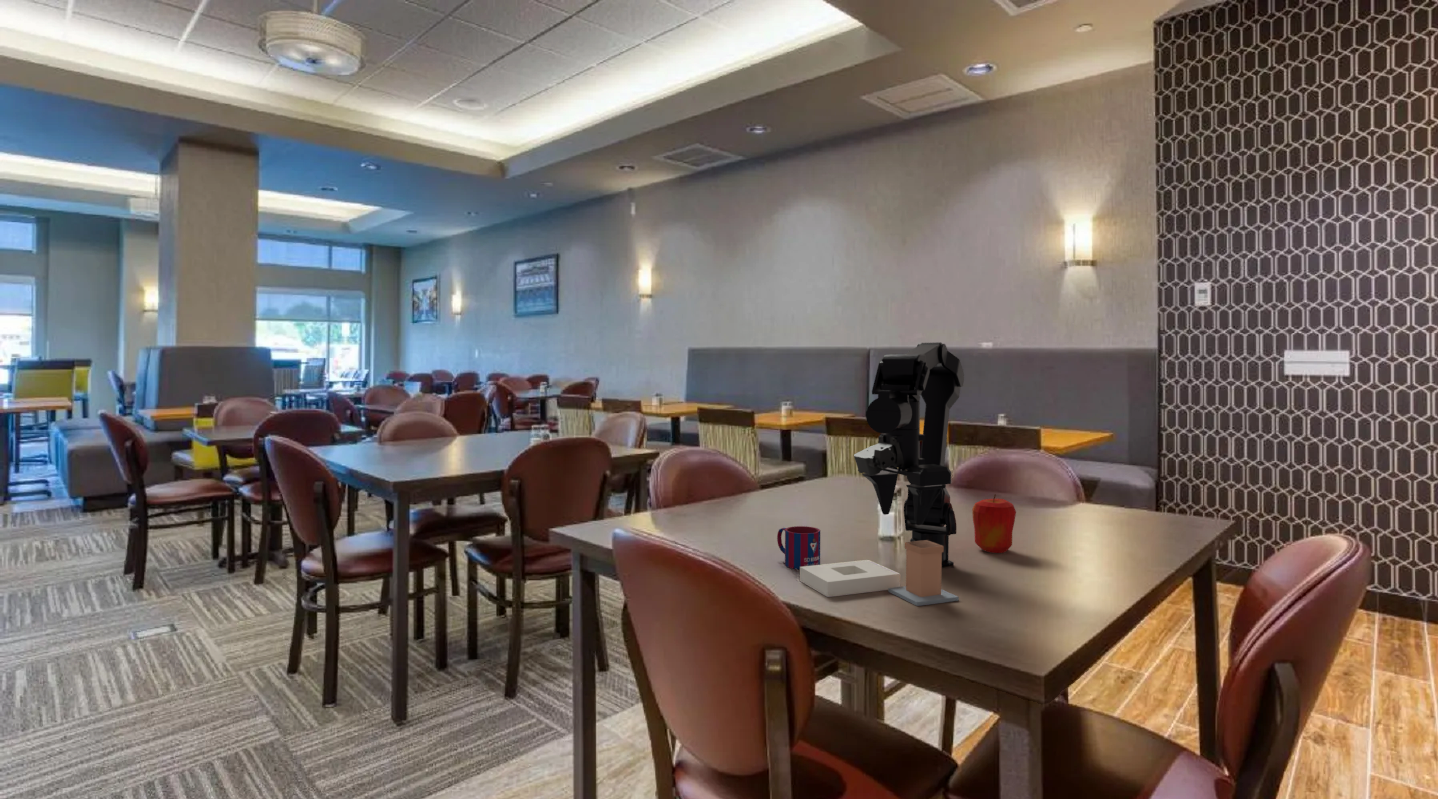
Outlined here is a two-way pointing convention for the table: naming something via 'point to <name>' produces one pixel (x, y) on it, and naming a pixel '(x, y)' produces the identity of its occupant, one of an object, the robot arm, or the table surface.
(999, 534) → the apple
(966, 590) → the table surface
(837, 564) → the white flat block
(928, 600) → the pad
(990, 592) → the table surface
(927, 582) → the plug
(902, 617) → the table surface
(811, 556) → the mug
